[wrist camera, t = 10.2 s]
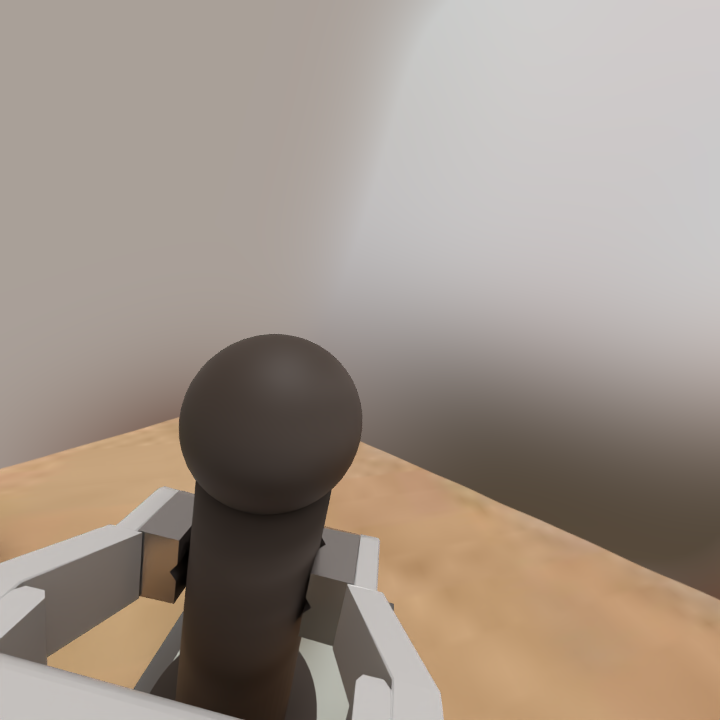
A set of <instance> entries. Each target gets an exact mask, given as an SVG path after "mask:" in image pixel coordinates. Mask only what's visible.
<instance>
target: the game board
mask: <svg viewBox="0 0 720 720" xmlns="http://www.w3.org/2000/svg"><path fill="white" fill-rule="evenodd" d="M389 604H390V606H391V608H392V609H393V611H394V604H392V603H389ZM183 613H184V611H183V612H182V614H181V616H180V617H179V619H178V620H177V622H176V623H175V625H174V627H173V628H172V630H171V631H170V633H169V634H168V636H167V637H166V639H165V641H164V642H163V644H162V645H161V647H160V648H159V650H158V651H157V653H156V655H155V656H154V658H153V659H152V661H151V662H150V664H149V666H148V667H147V669H146V670H145V672H144V673H143V675H142V676H141V678H140V680H139V681H138V683H137V684H136V686H135V687H134V690H137V691H141V692H145V693H148V694H150V692H151V690H152V688H153V687H154V685H155V683H156V682H157V680H158V679H159V677H160V676H161V675H162V673H163V672H164V671H165V670H166V668H167V667H168V666H169V665H170V664H171V663H172V662H173V661H174V660H175V659H176V658H177V657H178V656H179V655H180V645H181V634H182V623H183ZM332 648H333V646H330V645H326V644H323V643H320V642H316V641H313V640H309V639H306V638H303V637H302V638H301V642H300V647H299V652H300V653H301V654H302V656H303V658H304V659H305V661H306V663H307V665H308V667H309V669H310V672H311V675H312V678H313V681H314V686H315V691H316V700H317V720H346V717H347V713H348V709H349V703H348V700H347V696H346V693H345V689H344V686H343V683H342V679H341V676H340V672H339V669H338V666H337V662H336V659H335V655H334V652H333V649H332Z"/></svg>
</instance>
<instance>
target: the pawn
mask: <svg viewBox="0 0 720 720" xmlns="http://www.w3.org/2000/svg"><path fill="white" fill-rule="evenodd" d="M361 432H362V409H361V403H360V399H359V396H358V392H357V389H356V387H355V385H354V383H353V380H352V379H351V377H350V375H349V374H348V372H347V371H346V369H345V368H344V367H343V366H342V365H341V363H340V362H339V361H338V360H337V359H336V358H335V357H334V356H333V355H331V354H330V353H329V352H328V351H326V350H325V349H323V348H322V347H320V346H319V345H317V344H315V343H312V342H310V341H308V340H305V339H303V338H299V337H294V336H289V335H282V334H269V335H259V336H254V337H251V338H247V339H243V340H241V341H239V342H236V343H234V344H232V345H230V346H228V347H227V348H225V349H223V350H221V351H220V352H219V353H218V354H216V355H215V356H214V357H212V358H211V359H210V360H209V361H208V362H207V363H206V364H205V365H204V366H203V367H202V368H201V370H200V371H199V372H198V374H197V375H196V376H195V378H194V379H193V381H192V382H191V384H190V386H189V388H188V390H187V392H186V395H185V398H184V401H183V404H182V407H181V412H180V418H179V439H180V445H181V450H182V453H183V456H184V459H185V462H186V464H187V467H188V468H189V470H190V472H191V473H192V475H193V477H194V478H195V480H196V485H195V495H194V506H193V517H192V527H191V538H190V549H189V559H188V570H187V581H186V591H185V602H184V613H183V623H182V634H181V645H180V655H179V656H178V657H177V658H176V659H175V660H174V661H173V662H172V663H171V664H170V665H169V666H168V667H167V668H166V670H165V671H164V672H163V673H162V675H161V676H160V677H159V679H158V680H157V682H156V683H155V685H154V687H153V688H152V690H151V692H150V694H152V695H155V696H159V697H163V698H166V699H170V700H174V701H177V702H181V703H184V704H188V705H192V706H195V707H199V708H203V709H206V710H210V711H213V712H217V713H221V714H224V715H228V716H232V717H235V718H239V719H243V720H317V700H316V691H315V686H314V681H313V678H312V675H311V672H310V669H309V667H308V665H307V663H306V661H305V659H304V658H303V656H302V654H301V653H300V652H299V647H300V642H301V638H302V637H299V630H300V625H301V620H302V614H303V610H304V607H305V603H306V594H307V590H308V585H309V580H310V575H311V571H312V568H313V564H314V560H315V557H316V553H317V551H318V550H319V549H320V544H321V539H322V534H323V529H324V524H325V519H326V514H327V509H328V505H329V500H330V495H331V490H332V489H333V488H334V487H335V486H336V484H337V483H338V482H339V481H340V480H341V479H342V478H343V476H344V475H345V473H346V472H347V470H348V469H349V467H350V466H351V464H352V462H353V459H354V457H355V455H356V452H357V450H358V446H359V443H360V439H361Z"/></svg>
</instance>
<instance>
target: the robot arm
mask: <svg viewBox="0 0 720 720" xmlns="http://www.w3.org/2000/svg"><path fill="white" fill-rule="evenodd" d="M194 495H195V494H192V493H189V492H185V491H180V490H176V489H172V488H169V487H165V486H164V487H161V488H159V489H157V490H156V491H155V492H154V493H153V494H152V495H150V496H149V497H148V498H147V499H146V500H145V501H143V502H142V503H141V504H140V505H139V506H138V507H137V508H135V509H134V510H133V511H132V512H131V513H130V514H129V515H127V516H126V517H125V518H124V519H123V520H122V521H120V522H119V523H118V524H117V525H116V526H115V525H111V524H110V525H107V526H104V527H101V528H98V529H95V530H93V531H90V532H87V533H84V534H81V535H78V536H76V537H73V538H70V539H67V540H64V541H61V542H59V543H56V544H53V545H50V546H47V547H45V548H42V549H39V550H36V551H33V552H30V553H28V554H25V555H22V556H19V557H16V558H13V559H11V560H8V561H5V562H2V563H0V720H243V719H239V718H235V717H232V716H228V715H224V714H221V713H217V712H213V711H210V710H206V709H203V708H199V707H195V706H192V705H188V704H184V703H181V702H177V701H174V700H170V699H166V698H163V697H159V696H155V695H152V694H148V693H145V692H141V691H137V690H134V689H130V688H126V687H123V686H119V685H116V684H112V683H108V682H105V681H101V680H98V679H94V678H90V677H87V676H83V675H79V674H76V673H72V672H69V671H65V670H61V669H58V668H54V667H50V666H47V657H48V656H50V655H51V654H53V653H54V652H56V651H58V650H59V649H61V648H62V647H64V646H65V645H67V644H68V643H70V642H72V641H73V640H75V639H76V638H78V637H79V636H81V635H83V634H84V633H86V632H87V631H89V630H90V629H92V628H93V627H95V626H97V625H98V624H100V623H101V622H103V621H104V620H106V619H107V618H109V617H111V616H112V615H114V614H115V613H117V612H118V611H120V610H121V609H123V608H125V607H126V606H128V605H129V604H131V603H132V602H134V601H135V600H137V599H139V596H141V597H146V598H150V599H155V600H159V601H164V602H168V603H172V604H174V603H175V601H176V600H177V598H178V597H179V595H180V594H181V593H182V591H183V590H184V588H185V587H186V581H187V570H188V559H189V549H190V538H191V527H192V517H193V506H194ZM379 545H380V541H379V538H375V537H371V536H366V535H359V534H355V533H351V532H347V531H342V530H338V529H334V528H330V527H324V529H323V534H322V539H321V544H320V549H319V550H318V551H317V553H316V557H315V560H314V564H313V568H312V571H311V575H310V580H309V585H308V590H307V594H306V603H305V607H304V610H303V614H302V620H301V625H300V630H299V637H303V638H306V639H309V640H313V641H316V642H320V643H323V644H326V645H330V646H333V648H332V649H333V652H334V655H335V659H336V662H337V666H338V669H339V672H340V676H341V679H342V683H343V686H344V689H345V693H346V696H347V700H348V703H349V709H348V713H347V717H346V720H444V718H443V710H442V701H441V693H440V691H439V689H438V688H437V686H436V684H435V682H434V681H433V679H432V677H431V675H430V674H429V672H428V670H427V669H426V667H425V665H424V663H423V662H422V660H421V658H420V656H419V655H418V653H417V651H416V649H415V648H414V646H413V644H412V642H411V641H410V639H409V637H408V636H407V634H406V632H405V630H404V629H403V627H402V625H401V623H400V622H399V620H398V618H397V616H396V615H395V613H394V611H393V609H392V608H391V606H390V604H389V603H388V601H387V599H386V597H385V596H384V594H383V593H382V592H378V591H377V583H378V564H379Z"/></svg>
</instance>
